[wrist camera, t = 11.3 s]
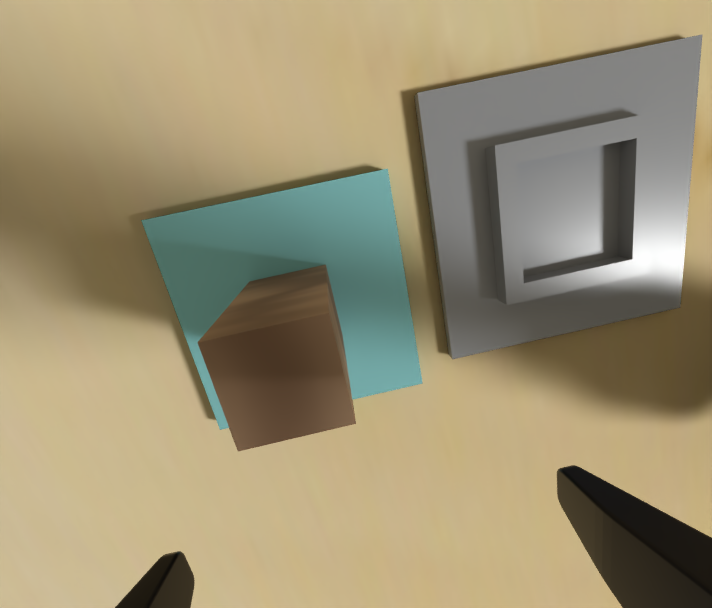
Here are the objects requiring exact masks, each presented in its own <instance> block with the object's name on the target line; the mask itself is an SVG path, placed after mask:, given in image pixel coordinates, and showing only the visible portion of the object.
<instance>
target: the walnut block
mask: <svg viewBox="0 0 712 608" xmlns="http://www.w3.org/2000/svg"><path fill="white" fill-rule="evenodd" d="M197 343H198V346H199V348H200V351H201V354H202V356H203V359H204V362H205V364H206V367H207V370H208V372H209V375H210V378H211V380H212V383H213V386H214V388H215V391H216V394H217V396H218V399H219V402H220V405H221V407H222V410H223V413H224V415H225V418H226V421H227V423H228V426H229V429H230V431H231V434H232V437H233V439H234V442H235V445H236V447H237V450H238V451H242V450H246V449H250V448H254V447H259V446H263V445H267V444H271V443H276V442H280V441H284V440H288V439H293V438H297V437H301V436H305V435H310V434H314V433H318V432H322V431H326V430H331V429H335V428H339V427H343V426H348V425H352V424H356V421H355V414H354V407H353V401H352V394H351V388H350V381H349V374H348V368H347V361H346V355H345V348H344V341H343V335H342V331H341V326H340V322H339V318H338V314H337V309H336V305H335V301H334V297H333V292H332V288H331V284H330V280H329V276H328V271H327V267H326V265H321V266H317V267H312V268H308V269H303V270H299V271H294V272H290V273H285V274H281V275H276V276H272V277H267V278H263V279H258V280H254V281H249V283H248V284H247V285H246V286H245V287H244V288H243V290H242V291H241V292H240V293H239V294H238V295H237V297H236V298H235V299H234V300H233V301H232V302H231V304H230V305H229V306H228V307H227V308H226V310H225V311H224V312H223V313H222V314H221V315H220V317H219V318H218V319H217V320H216V321H215V322H214V324H213V325H212V326H211V327H210V328H209V329H208V331H207V332H206V333H205V334H204V335H203V337H202V338H201V339H200V340H199V341H198V342H197Z"/></svg>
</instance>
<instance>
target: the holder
mask: <svg viewBox="0 0 712 608" xmlns="http://www.w3.org/2000/svg"><path fill="white" fill-rule="evenodd" d="M701 45H702V35H698V36H693V37H688V38H683V39H678V40H674V41H669V42H664V43H659V44H654V45H649V46H644V47H639V48H634V49H629V50H625V51H620V52H615V53H610V54H605V55H600V56H595V57H590V58H585V59H581V60H576V61H571V62H566V63H561V64H556V65H551V66H546V67H541V68H536V69H532V70H527V71H522V72H517V73H512V74H507V75H502V76H497V77H492V78H487V79H483V80H478V81H473V82H468V83H463V84H458V85H453V86H448V87H443V88H439V89H434V90H429V91H424V92H419V93H417V94H416V95H415V96H414V97H415V105H416V112H417V120H418V127H419V134H420V142H421V149H422V157H423V164H424V172H425V179H426V187H427V194H428V202H429V209H430V217H431V224H432V232H433V239H434V247H435V254H436V262H437V269H438V277H439V284H440V292H441V299H442V307H443V314H444V321H445V329H446V336H447V344H448V351H449V356H450V357H451V358H452V359H456V358H460V357H465V356H469V355H473V354H478V353H482V352H487V351H491V350H495V349H500V348H504V347H509V346H513V345H517V344H522V343H526V342H531V341H535V340H539V339H544V338H548V337H552V336H557V335H561V334H566V333H570V332H574V331H579V330H583V329H588V328H592V327H596V326H601V325H605V324H610V323H614V322H618V321H623V320H627V319H632V318H636V317H640V316H645V315H649V314H654V313H658V312H662V311H667V310H671V309H676V308H680V304H681V291H682V279H683V267H684V254H685V242H686V230H687V217H688V205H689V193H690V180H691V168H692V156H693V143H694V131H695V119H696V106H697V94H698V82H699V69H700V57H701Z"/></svg>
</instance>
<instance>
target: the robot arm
mask: <svg viewBox="0 0 712 608" xmlns="http://www.w3.org/2000/svg"><path fill="white" fill-rule="evenodd" d="M557 494H558V499H559V502H560V505H561V507H562V508H563V510H564V512H565V514H566V515H567V517H568V519H569V521H570V522H571V524H572V526H573V528H574V529H575V531H576V533H577V535H578V536H579V538H580V540H581V542H582V543H583V545H584V547H585V549H586V550H587V552H588V554H589V556H590V557H591V559H592V561H593V563H594V564H595V566H596V568H597V569H598V571H599V573H600V574H601V576H602V578H603V579H604V581H605V582H606V584H607V585H608V587H609V588H610V590H611V591H612V593H613V594H614V595H615V597H616V598H617V600H618V601H619V603H620V604H621V606H622V607H623V608H712V538H711V537H709V536H707V535H705V534H704V533H702V532H700V531H698V530H696V529H694V528H692V527H690V526H689V525H687V524H685V523H683V522H681V521H679V520H677V519H675V518H674V517H672V516H670V515H668V514H666V513H664V512H662V511H660V510H659V509H657V508H655V507H653V506H651V505H649V504H647V503H645V502H644V501H642V500H640V499H638V498H636V497H634V496H632V495H630V494H629V493H627V492H625V491H623V490H621V489H619V488H617V487H616V486H614V485H612V484H610V483H608V482H606V481H604V480H602V479H601V478H599V477H597V476H595V475H593V474H591V473H589V472H587V471H586V470H584V469H582V468H580V467H578V466H574V465H573V466H568V467H563V468H560V469H558V471H557ZM193 590H194V575H193V573H192V571H191V568H190V566H189V564H188V562H187V560H186V557H185V555H184V554H183V553H182V552H181V551H178V552H173V553H169V554H165V555H163V556H162V557H161V558H160V559H159V560H158V561H157V562H156V563H155V564H154V565H153V566H152V567H151V568H150V570H149V571H148V572H147V573H146V574H145V575H144V576H143V577H142V578H141V579H140V581H139V582H138V583H137V584H136V585H135V586H134V587H133V588H132V589H131V591H130V592H129V593H128V594H127V595H126V596H125V597H124V598H123V599H122V601H121V602H120V603H119V604H118V605H117V606H116V607H115V608H190V607H191V601H192V596H193Z"/></svg>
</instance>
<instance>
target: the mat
mask: <svg viewBox="0 0 712 608" xmlns="http://www.w3.org/2000/svg"><path fill="white" fill-rule="evenodd" d="M141 221H142V224H143V226H144V229H145V232H146V234H147V237H148V240H149V242H150V245H151V247H152V250H153V253H154V255H155V258H156V261H157V263H158V266H159V269H160V271H161V274H162V277H163V279H164V282H165V285H166V287H167V290H168V293H169V295H170V298H171V301H172V303H173V306H174V309H175V311H176V314H177V317H178V319H179V322H180V325H181V327H182V330H183V332H184V335H185V338H186V340H187V343H188V346H189V348H190V351H191V354H192V356H193V359H194V362H195V364H196V367H197V370H198V372H199V375H200V378H201V380H202V383H203V386H204V388H205V391H206V394H207V396H208V399H209V402H210V404H211V407H212V410H213V412H214V415H215V418H216V420H217V423H218V425H219V428H220V430H221V429H226V428H229V426H228V423H227V421H226V418H225V415H224V413H223V410H222V407H221V405H220V402H219V399H218V396H217V394H216V391H215V388H214V386H213V383H212V380H211V378H210V375H209V372H208V370H207V367H206V364H205V362H204V359H203V356H202V354H201V351H200V348H199V346H198V343H197V342H198V341H199V340H200V339H201V338H202V337H203V335H204V334H205V333H206V332H207V331H208V329H209V328H210V327H211V326H212V325H213V324H214V322H215V321H216V320H217V319H218V318H219V317H220V315H221V314H222V313H223V312H224V311H225V310H226V308H227V307H228V306H229V305H230V304H231V302H232V301H233V300H234V299H235V298H236V297H237V295H238V294H239V293H240V292H241V291H242V290H243V288H244V287H245V286H246V285H247V284H248V283H249V281H254V280H258V279H263V278H267V277H272V276H276V275H281V274H285V273H290V272H294V271H299V270H303V269H308V268H312V267H317V266H321V265H326V267H327V271H328V276H329V280H330V284H331V288H332V292H333V297H334V301H335V305H336V309H337V314H338V318H339V322H340V326H341V331H342V335H343V341H344V348H345V355H346V361H347V368H348V374H349V381H350V388H351V394H352V399H357V398H361V397H365V396H370V395H374V394H378V393H383V392H387V391H392V390H396V389H400V388H405V387H409V386H413V385H418V384H422V377H421V371H420V365H419V359H418V352H417V346H416V340H415V334H414V328H413V322H412V316H411V309H410V303H409V297H408V291H407V285H406V279H405V273H404V267H403V260H402V254H401V248H400V242H399V236H398V230H397V224H396V217H395V211H394V205H393V199H392V193H391V187H390V181H389V174H388V169H384V170H379V171H374V172H369V173H365V174H360V175H355V176H350V177H345V178H341V179H336V180H331V181H326V182H322V183H317V184H312V185H307V186H303V187H298V188H293V189H288V190H284V191H279V192H274V193H269V194H265V195H260V196H255V197H250V198H246V199H241V200H236V201H231V202H227V203H222V204H217V205H212V206H207V207H203V208H198V209H193V210H188V211H184V212H179V213H174V214H169V215H165V216H160V217H155V218H150V219H146V220H141Z"/></svg>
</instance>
